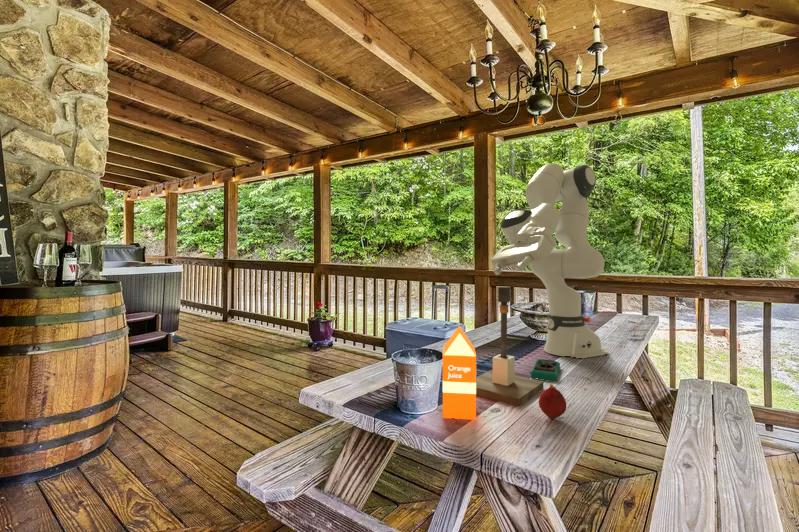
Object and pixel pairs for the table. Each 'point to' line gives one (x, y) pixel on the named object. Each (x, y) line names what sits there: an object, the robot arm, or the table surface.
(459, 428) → the table surface
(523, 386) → the rod stand
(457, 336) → the orange juice
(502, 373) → the small beige block
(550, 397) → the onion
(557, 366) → the digital multimeter
